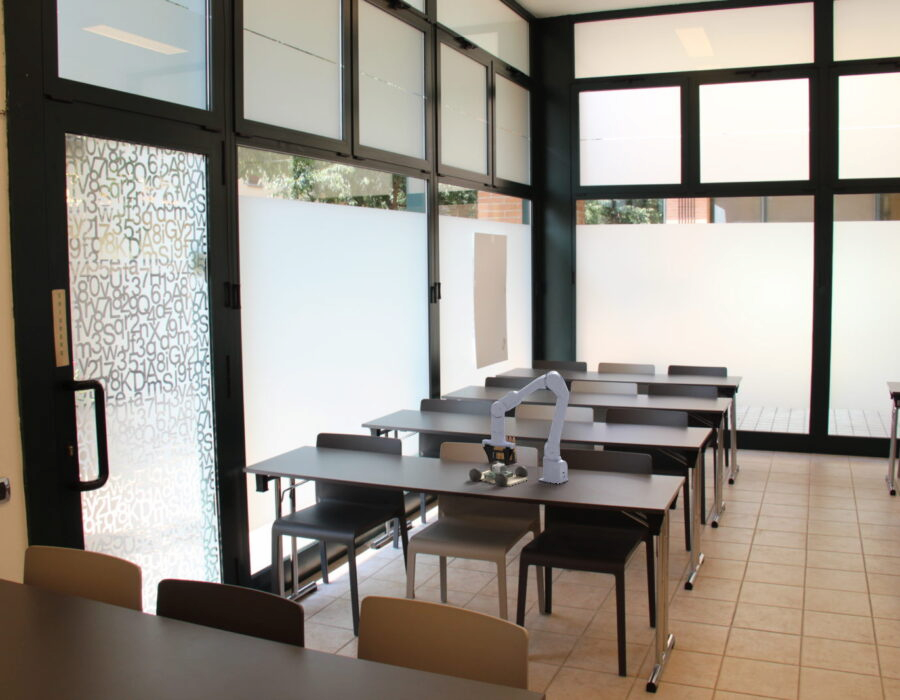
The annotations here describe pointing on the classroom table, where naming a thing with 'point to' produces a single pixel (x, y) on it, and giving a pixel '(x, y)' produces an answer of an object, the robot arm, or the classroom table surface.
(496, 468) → the engine block
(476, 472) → the chassis
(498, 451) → the ammunition clip
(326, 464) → the classroom table surface
